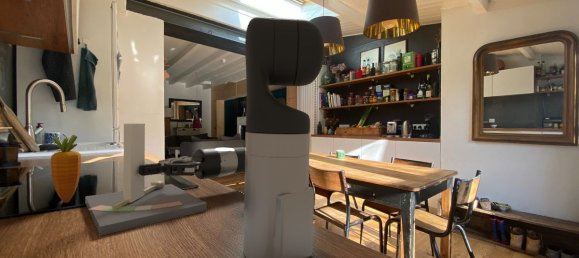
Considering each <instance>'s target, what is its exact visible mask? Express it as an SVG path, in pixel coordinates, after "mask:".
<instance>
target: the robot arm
mask: <svg viewBox="0 0 579 258" xmlns="http://www.w3.org/2000/svg"><path fill="white" fill-rule="evenodd" d="M244 44H245V45H244V47H245V48H244V49H245V50H244V51H245V73H246V74H245V78H246V83H245V84H246V115H245V116H246V117H245V144H244V145H245V146H244V147H242V146H241V147H210V148H209V147H207V148H198V149H196V150H195V151H194V153H193V156H192V157H189V156H188V155H187V156H186V155H185V156H180V157H174V156H173V157H170V158H166V159H161V160H159V161H158V162H154V163H145V164H142V165H140V166H139V174H140V175H142V176H144V177H145V176H153V175H162V176H168V177H171V176H172V177H173V176H174V177H175V176H176V177H178V176H181V177H182V176H187V177H189V176H191V177H192V176H195V177H196V178H197V179H198V180H205V179H211V178H218V177H225V176H229V175H231V174H232V175H233V174H240V173H244V195H243V197H244V198H243V199H244V200H243V203H244V205H243V207H244V208H243V213H244V214H243V254H244V257H245V258H309V257H311V256H312V255H313V246H314V240H313V239H314V212H315V209H314V208H315V207H314V206H315V205H314V204H315V199H314V198H315V189H314V188H313V187H311V186H309V185H310V184H309V183H310V182H309V180H310V176H309V175H310V148H311V147H310V146H311V142H310V141H311V139H310V137H311V118H310V115H309V114H308V113H307V112H305V111H302V110H300V109H297V108H294V107H292V106H289V105H287V104H286V103H283V102H282V101H281V100H279V99H277V98H276V97H275V96H274V94H273V93H272V91H271V90H270V87H269V86H278V87H279V86H281V87H304V86H308V85H310V84H312V83H313V82H315V80H316V79H317V78H318V77H319V74H320V73H321V70H322V67H323V64H324V60H325V41H324V37H323V34H322V32H321V30H320V28H319V27H318V25H317V24H315V23H314V22H312V21H309V20H307V19H301V18H298V19H297V18H287V17H286V18H285V17H272V16H270V17H269V16H255V17H253V18H251V19H250V20H249V22H248V25H247V27H246V31H245V42H244Z"/></svg>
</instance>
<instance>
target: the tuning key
mask: <svg viewBox="0 0 579 258" xmlns="http://www.w3.org/2000/svg"><path fill="white" fill-rule="evenodd" d="M145 135H146V124H145V123H123V169H122V170H123V172H122V173H123V175H122V176H123V180H122V181H123V188H122V189H123V190H122V191H123V201H122V202H120V203H118V204H116V205H114V206H112V209H116V208H118V207H120V206H122V205H124V204H126V203H131V202H133V201H135V200H137V199H139V198H140V197H142V196H144V195H145V194H147V193H149V192H151V191H153V190H154V189H156V188H162V187H164V185H165V181H164V180H153V181H151V182H150V186H148V187H145V176H142V175H140V174H139V166H140V165H142V164H146V163H145V160H146V159H145V158H146V157H145V154H146V153H145V150H146V149H145V145H146V144H145V143H146V142H145V141H146V140H145V139H146V138H145V137H146V136H145ZM144 188H145V189H144Z"/></svg>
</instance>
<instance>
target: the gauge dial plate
mask: <svg viewBox="0 0 579 258" xmlns="http://www.w3.org/2000/svg"><path fill="white" fill-rule="evenodd" d="M145 188H146V187H144V189H145ZM122 201H123V190H121V191H115V192H114V191H113V192H107V193H101V194H95V195H87V196H85V205H86V208H87V210H88V212H89V214H90V216H91V219H92V221H93V224H94V226H95V228H96V231H97V233H98V235H99V237H101V236H106V235H109V234H113V233H118V232H122V231H126V230H130V229H135V228H138V227H143V226H146V225H147V226H148V225H152V224H156V223H159V222H163V221H167V220H172V219H176V218H181V217H185V216H189V215H194V214H197V213H202V212H205V211H208V203H207V202H206V201H204V200H202V199H200V198H198V197H196V196H194V195H193V194H190V193H189V192H187V191H186V190H184V189H181V188H179V187H178V186H176V185H174V184H172V183H170V184H168V183H167V184H164V187H162V188H156V189H154V190H153V191H151V192H149V193H147V194H145V195H144V196H142V197H140V198H139V199H137V200H135V201H133V202H131V203H126V204H124V205H122V206H120V207H118V208H116V209H112V206H114V205H116V204H118V203H120V202H122Z"/></svg>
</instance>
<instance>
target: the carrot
mask: <svg viewBox="0 0 579 258" xmlns="http://www.w3.org/2000/svg"><path fill="white" fill-rule="evenodd" d="M77 138H78V136H77V135H76V134H71V137H70V138H69V137H64V138H63V140H62V142H61V141H60V139H59V138H58V137H57V136H53V138H52V140H53V142H54V143H55V144H56V146H57V147H58V148H59V150H60V151H57V152H55V153H53V154H52V155H51V158H50V169H51V170H50V171H51V179H52V182H53V183H52V184H53V186H54V190H55V192H56V193H57V195H58V197H59V198H60V200H61V201H62V202H63V203H65V204H68V203H69V202H70V201H71V199H72V198H73V197H74V195H75V193H76V190H77V188H78V185H79V181H80V176H81V168H82V167H81V166H82V154H81V153H80V152H78V151H76V150H75V151H73V149H74V148H75V147H76V146H78V143H75V142H76V140H77Z"/></svg>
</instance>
